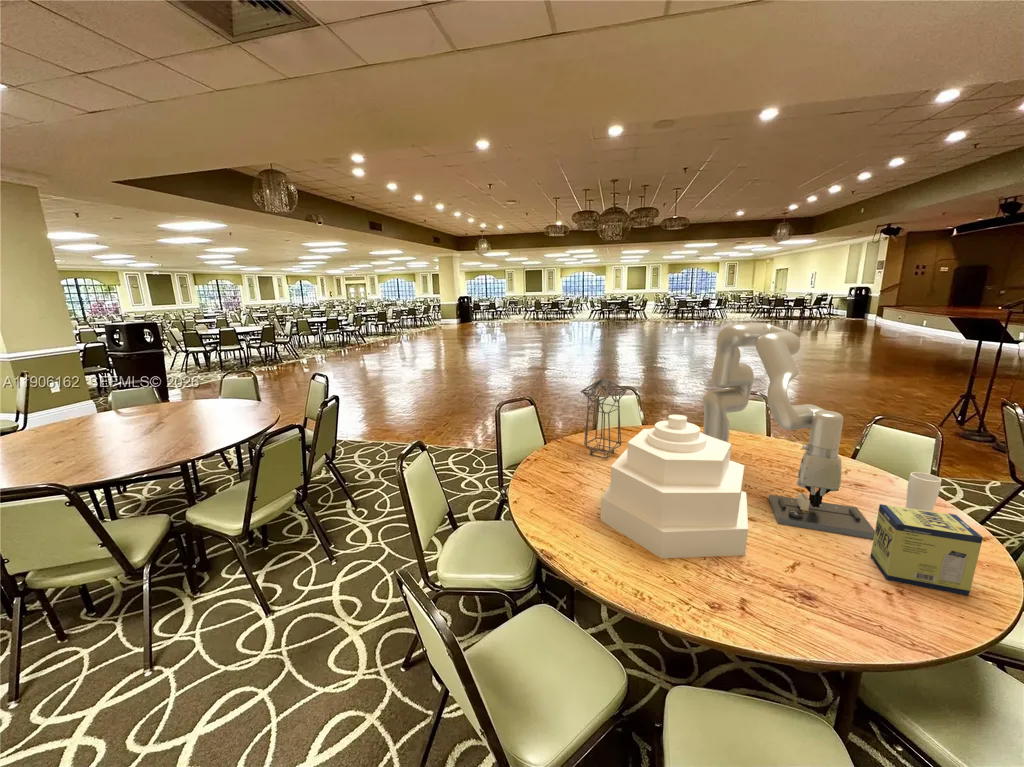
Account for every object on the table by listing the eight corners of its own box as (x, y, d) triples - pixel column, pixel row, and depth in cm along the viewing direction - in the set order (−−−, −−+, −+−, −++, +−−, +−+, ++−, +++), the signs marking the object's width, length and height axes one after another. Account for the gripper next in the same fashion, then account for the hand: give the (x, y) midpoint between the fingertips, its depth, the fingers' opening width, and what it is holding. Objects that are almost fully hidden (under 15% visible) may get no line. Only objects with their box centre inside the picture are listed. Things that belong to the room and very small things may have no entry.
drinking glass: (923, 518, 128) (933, 473, 125) (937, 529, 122) (947, 482, 119) (896, 514, 130) (905, 470, 127) (908, 525, 124) (918, 479, 121)
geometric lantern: (626, 453, 184) (629, 377, 176) (608, 465, 173) (610, 384, 165) (595, 444, 195) (597, 372, 186) (576, 455, 184) (578, 379, 175)
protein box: (868, 556, 110) (878, 503, 107) (945, 569, 104) (958, 514, 101) (885, 580, 101) (896, 523, 98) (970, 597, 95) (985, 536, 92)
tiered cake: (641, 475, 162) (646, 392, 154) (772, 517, 130) (785, 416, 123) (573, 518, 132) (575, 418, 125) (722, 586, 100) (735, 457, 93)
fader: (800, 509, 130) (802, 499, 129) (797, 502, 134) (798, 492, 133) (808, 510, 129) (809, 500, 128) (804, 503, 133) (805, 493, 133)
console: (777, 523, 126) (779, 513, 126) (768, 499, 141) (769, 491, 140) (876, 539, 117) (878, 529, 117) (855, 512, 132) (857, 503, 131)
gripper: (796, 451, 126) (789, 506, 129) (857, 458, 120) (847, 515, 124) (791, 443, 132) (784, 496, 136) (848, 449, 127) (839, 504, 131)
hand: (814, 505), depth 130 cm, fingers closed
